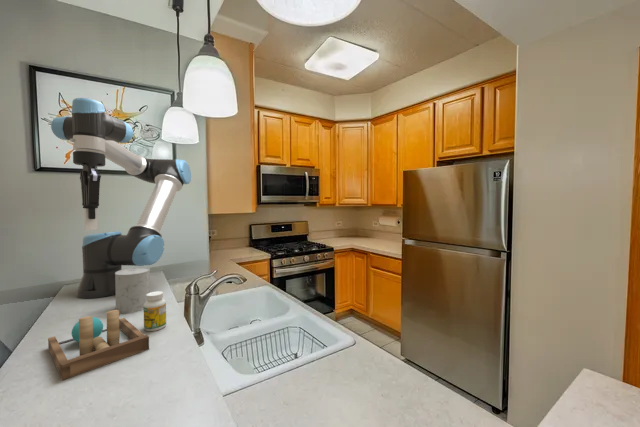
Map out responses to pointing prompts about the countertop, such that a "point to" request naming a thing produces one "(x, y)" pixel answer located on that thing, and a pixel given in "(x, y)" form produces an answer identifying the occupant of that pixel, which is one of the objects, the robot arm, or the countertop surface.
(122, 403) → the countertop surface
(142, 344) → the frame
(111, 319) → the pin
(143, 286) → the speckled white cylinder
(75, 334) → the ball
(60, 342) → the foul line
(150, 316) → the supplement bottle
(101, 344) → the front pin
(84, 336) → the pin
